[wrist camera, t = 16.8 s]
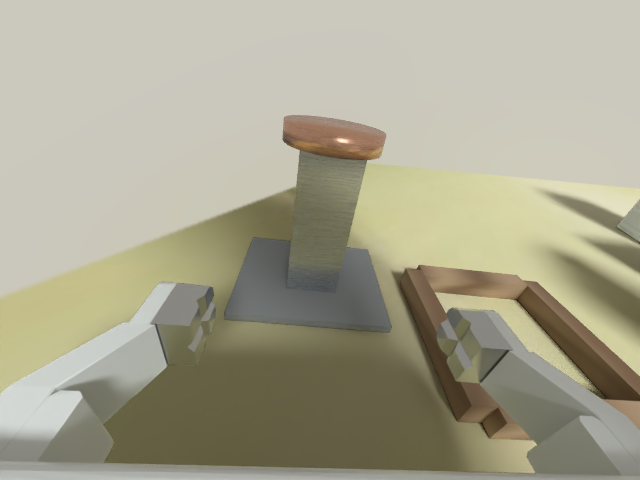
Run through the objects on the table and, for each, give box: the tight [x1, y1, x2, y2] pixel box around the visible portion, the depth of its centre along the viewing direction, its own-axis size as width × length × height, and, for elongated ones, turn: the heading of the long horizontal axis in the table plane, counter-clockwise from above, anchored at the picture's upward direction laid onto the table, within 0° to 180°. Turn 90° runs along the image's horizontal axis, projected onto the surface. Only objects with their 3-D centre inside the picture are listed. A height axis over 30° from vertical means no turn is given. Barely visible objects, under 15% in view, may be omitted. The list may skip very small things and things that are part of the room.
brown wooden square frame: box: [400, 265, 640, 440], centre depth 19 cm, size 13×13×2 cm
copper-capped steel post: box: [283, 115, 386, 293], centre depth 19 cm, size 6×6×12 cm
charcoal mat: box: [224, 237, 392, 332], centre depth 23 cm, size 12×10×1 cm
